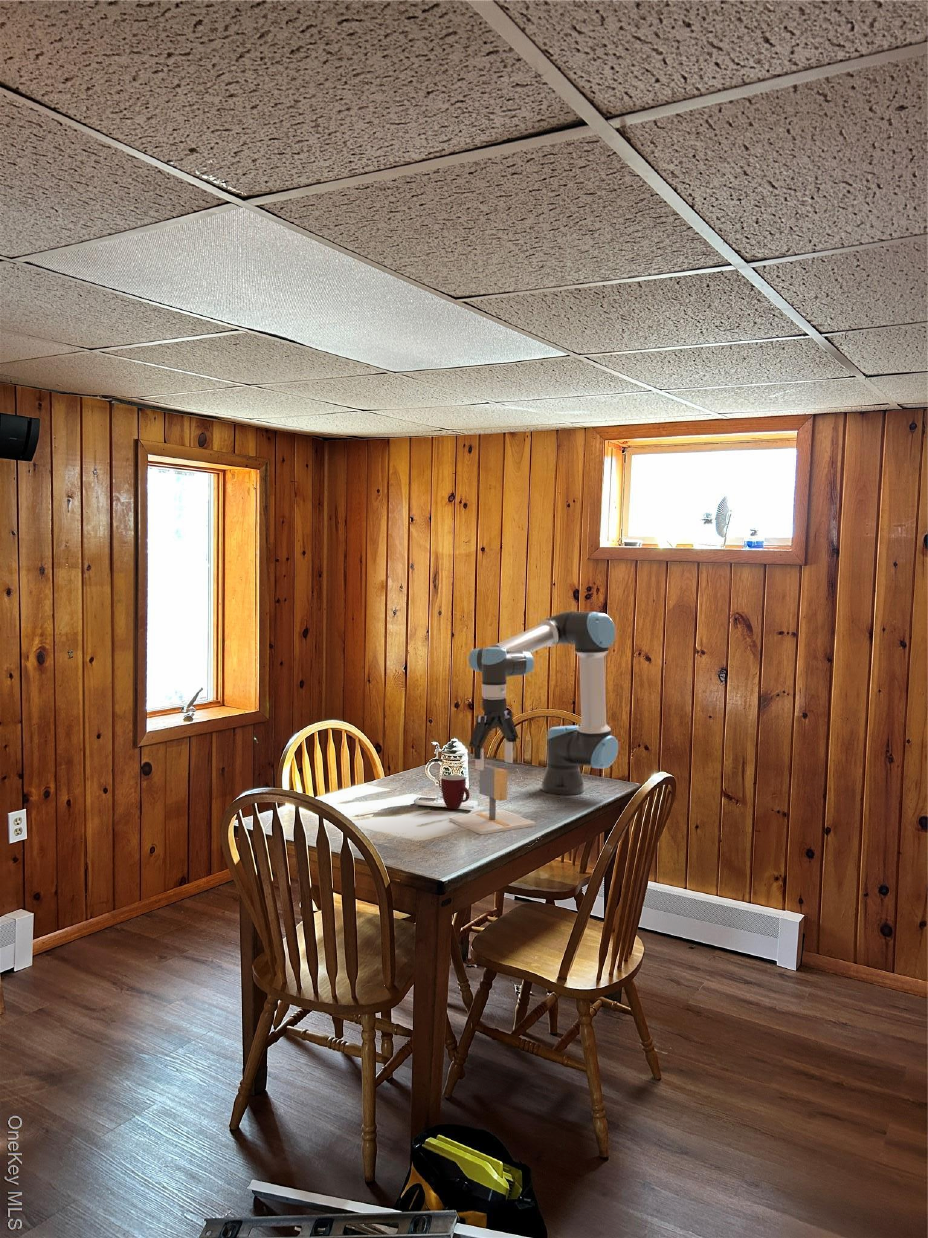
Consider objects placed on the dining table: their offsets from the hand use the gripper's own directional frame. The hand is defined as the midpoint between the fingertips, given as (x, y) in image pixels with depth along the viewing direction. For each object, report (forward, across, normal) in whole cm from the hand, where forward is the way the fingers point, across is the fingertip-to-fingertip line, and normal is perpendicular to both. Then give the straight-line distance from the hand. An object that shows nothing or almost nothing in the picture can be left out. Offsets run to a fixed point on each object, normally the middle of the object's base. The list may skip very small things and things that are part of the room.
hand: (494, 766), depth 282 cm
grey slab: (+9, -1, 0) cm, 9 cm away
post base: (+18, -1, 0) cm, 18 cm away
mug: (+18, +4, +20) cm, 28 cm away
